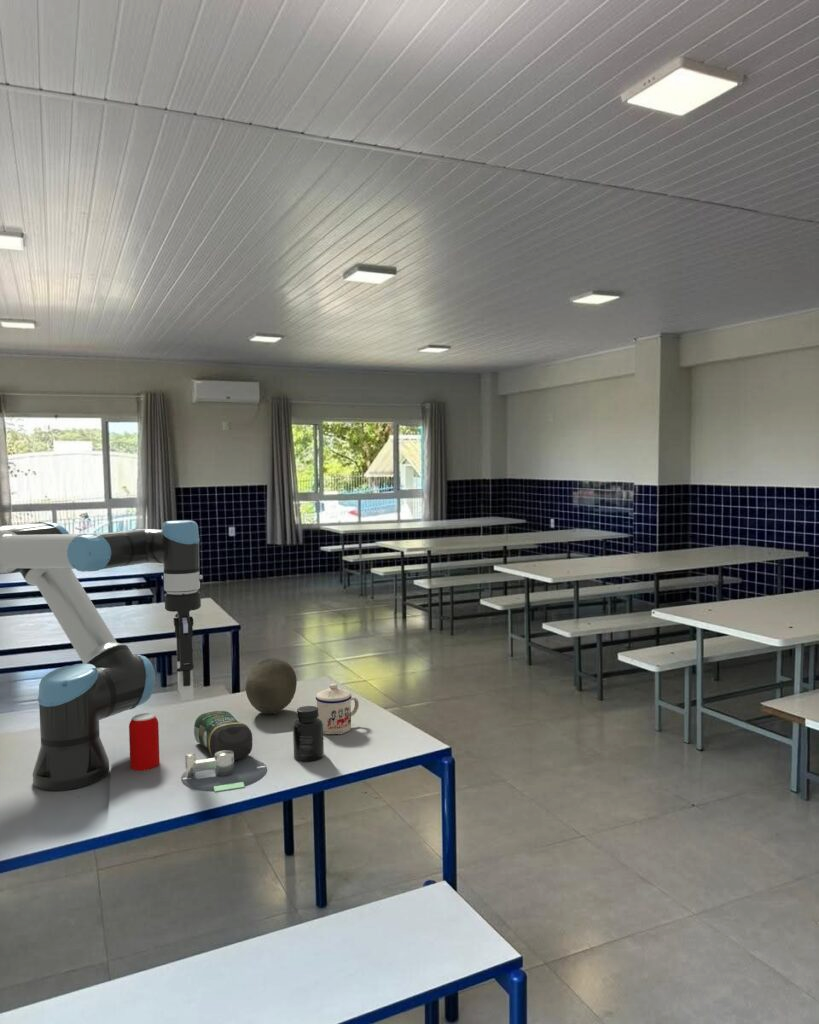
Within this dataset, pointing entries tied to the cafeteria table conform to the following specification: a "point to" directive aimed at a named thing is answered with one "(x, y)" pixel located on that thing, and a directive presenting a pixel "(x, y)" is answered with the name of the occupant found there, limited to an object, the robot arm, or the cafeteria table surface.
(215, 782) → the dial plate
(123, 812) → the cafeteria table surface
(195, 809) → the cafeteria table surface
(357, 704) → the teacup with lid
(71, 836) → the cafeteria table surface
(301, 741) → the supplement bottle
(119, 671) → the robot arm
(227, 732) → the coffee jar
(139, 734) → the beverage can
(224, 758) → the pointer
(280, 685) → the cantaloupe
